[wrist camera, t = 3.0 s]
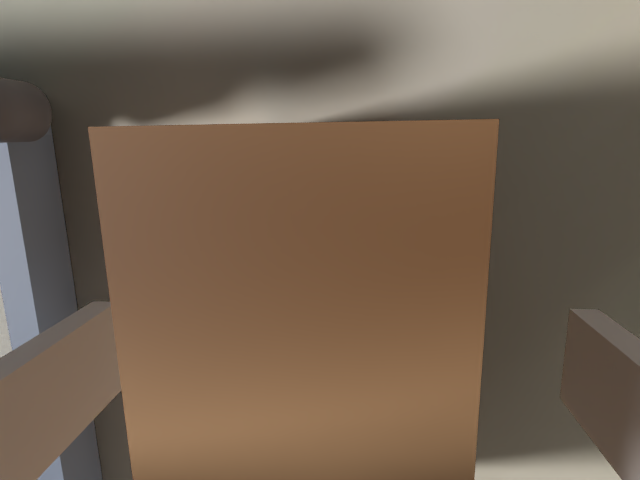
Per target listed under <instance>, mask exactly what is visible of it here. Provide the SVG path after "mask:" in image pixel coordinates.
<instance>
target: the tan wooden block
mask: <svg viewBox="0 0 640 480" xmlns="http://www.w3.org/2000/svg"><path fill="white" fill-rule="evenodd" d="M498 130H499V119H471V120H419V121H366V122H314V123H262V124H210V125H157V126H105V127H88V133H89V140H90V148H91V156H92V164H93V172H94V180H95V187H96V195H97V203H98V211H99V219H100V227H101V234H102V242H103V250H104V258H105V266H106V274H107V281H108V289H109V297H110V305H111V313H112V321H113V328H114V336H115V344H116V352H117V360H118V367H119V375H120V383H121V391H122V399H123V407H124V414H125V422H126V430H127V438H128V446H129V454H130V461H131V469H132V477H133V480H474V475H475V461H476V446H477V432H478V418H479V403H480V389H481V375H482V360H483V346H484V331H485V317H486V303H487V288H488V274H489V260H490V245H491V231H492V217H493V202H494V188H495V174H496V159H497V145H498Z"/></svg>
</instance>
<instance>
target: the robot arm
mask: <svg viewBox="0 0 640 480" xmlns="http://www.w3.org/2000/svg"><path fill="white" fill-rule="evenodd" d="M120 391H121V383H120V375H119V367H118V360H117V352H116V344H115V336H114V328H113V321H112V313H111V305H110V301H93V302H91V303H89V304H88V305H86V306H84V307H83V308H81V309H80V310H78V311H76V312H75V313H73V314H71V315H70V316H68V317H67V318H65V319H63V320H62V321H60V322H58V323H57V324H55V325H53V326H52V327H50V328H49V329H47V330H45V331H44V332H42V333H40V334H39V335H37V336H36V337H34V338H32V339H31V340H29V341H27V342H26V343H24V344H23V345H21V346H19V347H18V348H16V349H14V350H13V351H11V352H9V353H8V354H6V355H5V356H3V357H1V358H0V480H37V479H38V478H39V477H40V476H41V475H42V474H43V472H44V471H45V470H46V469H47V468H48V467H49V466H50V465H51V464H52V463H53V462H54V461H55V460H56V459H57V458H58V457H59V456H60V454H61V453H62V452H63V451H64V450H65V449H66V448H67V447H68V446H69V445H70V444H71V443H72V442H73V441H74V440H75V439H76V438H77V437H78V435H79V434H80V433H81V432H82V431H83V430H84V429H85V428H86V427H87V426H88V425H89V424H90V423H91V422H92V421H93V420H94V419H95V417H96V416H97V415H98V414H99V413H100V412H101V411H102V410H103V409H104V408H105V407H106V406H107V405H108V404H109V403H110V402H111V401H112V399H113V398H114V397H115V396H116V395H117V394H118V393H119V392H120ZM560 399H561V400H562V402H563V403H564V404H565V406H566V407H567V408H568V410H569V411H570V412H571V413H572V415H573V416H574V417H575V419H576V420H577V421H578V423H579V424H580V425H581V427H582V428H583V429H584V431H585V432H586V433H587V434H588V436H589V437H590V438H591V440H592V441H593V442H594V444H595V445H596V446H597V448H598V449H599V450H600V452H601V453H602V454H603V455H604V457H605V458H606V459H607V461H608V462H609V463H610V465H611V466H612V467H613V469H614V470H615V471H616V472H617V474H618V475H619V476H620V478H621V479H622V480H640V339H639V338H638V337H636V336H635V335H633V334H632V333H631V332H629V331H628V330H627V329H625V328H624V327H622V326H621V325H620V324H618V323H617V322H615V321H614V320H613V319H611V318H610V317H609V316H607V315H606V314H604V313H603V312H602V311H600V310H599V309H569V318H568V328H567V337H566V346H565V355H564V364H563V374H562V383H561V392H560Z"/></svg>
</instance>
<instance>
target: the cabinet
mask: <svg viewBox="0 0 640 480" xmlns="http://www.w3.org/2000/svg"><path fill="white" fill-rule="evenodd" d="M51 121H52V110H51V106H50V103H49V101H48V99H47V96H45V94H44V93H43V92H42V91H41V90H40V89H39V88H38V87H36V86H35V85H33V84H31V83H29V82H25V81H19V80H12V79H6V78H0V287H1V292H2V297H3V303H4V308H5V314H6V319H7V325H8V330H9V335H10V341H11V346H12V351H13V350H14V349H16V348H18V347H19V346H21V345H23V344H24V343H26V342H27V341H29V340H31V339H32V338H34V337H36V336H37V335H39V334H40V333H42V332H44V331H45V330H47V329H49V328H50V327H52V326H53V325H55V324H57V323H58V322H60V321H62V320H63V319H65V318H67V317H68V316H70V315H71V314H73V313H75V312H76V311H78V308H77V301H76V295H75V288H74V281H73V274H72V267H71V260H70V253H69V247H68V240H67V233H66V226H65V219H64V212H63V205H62V198H61V192H60V185H59V178H58V171H57V164H56V157H55V150H54V144H53V137H52V130H51ZM37 480H102V473H101V466H100V459H99V452H98V446H97V439H96V432H95V425H94V420H93V421H92V422H91V423H90V424H89V425H88V426H87V427H86V428H85V429H84V430H83V431H82V432H81V433H80V434H79V435H78V437H77V438H76V439H75V440H74V441H73V442H72V443H71V444H70V445H69V446H68V447H67V448H66V449H65V450H64V451H63V452H62V453H61V454H60V456H59V457H58V458H57V459H56V460H55V461H54V462H53V463H52V464H51V465H50V466H49V467H48V468H47V469H46V470H45V471H44V472H43V474H42V475H41V476H40V477H39V478H38V479H37Z"/></svg>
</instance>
